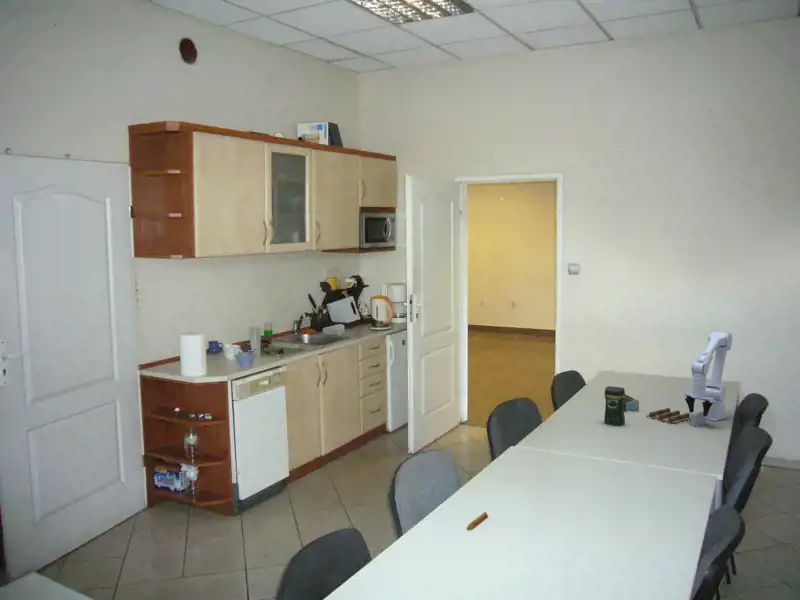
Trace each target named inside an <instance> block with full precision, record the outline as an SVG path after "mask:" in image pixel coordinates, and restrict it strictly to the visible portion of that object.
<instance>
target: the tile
mask: <svg viewBox="0 0 800 600" xmlns="http://www.w3.org/2000/svg"><path fill="white" fill-rule="evenodd" d="M689 422H690V423H689V424H690V425H689V426H690V427H692V426H693V427H692V428H697V427H696V426H698V427H701V426H704V424H705V425H707V419H706V416H704V415H703V410H702V411H699V412H692V413H690V421H689ZM700 425H701V426H700Z"/></svg>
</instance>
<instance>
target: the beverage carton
mask: <svg viewBox="0 0 800 600" xmlns="http://www.w3.org/2000/svg"><path fill="white" fill-rule="evenodd" d="M639 406H640V401H639V400H638V399H635V398H634V397H631V396H630V395H627V394H626V393H625V398H624V412H625V411H637V412H639V411H640V410H639V409H640V407H639ZM638 410H639V411H638Z"/></svg>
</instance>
